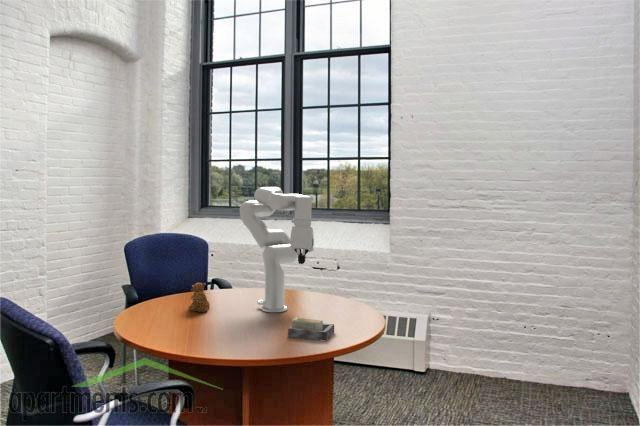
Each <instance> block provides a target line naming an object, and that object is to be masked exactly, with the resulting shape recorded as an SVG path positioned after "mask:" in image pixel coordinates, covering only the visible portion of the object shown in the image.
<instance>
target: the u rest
mask: <svg viewBox="0 0 640 426" xmlns="http://www.w3.org/2000/svg"><path fill="white" fill-rule="evenodd" d="M334 334H335V324H332V323H326V322H323V331H319V330H309V329H299V328H292V327H291V326H290V327H288V328H287V337H288V338H293V337H295V338H294V339H302V338H305V339H304V340H311V339H315V340H314V341H321V340H323V341H322V342H327V341H328V340H329V338H331V336H332V335H334Z"/></svg>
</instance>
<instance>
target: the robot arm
mask: <svg viewBox="0 0 640 426" xmlns="http://www.w3.org/2000/svg"><path fill="white" fill-rule="evenodd" d="M253 196H254V199H255V200H247V201H244V202H243V203H241V205H240V206H239V216H240V220H241V222H242V223H243V225H244V226H245V227H246V228H247V229H248V230H249V232H250V234H251V235H252V237H253V238H254V240H255V242H256V244H257V246H258V247H259V248H260V249H263V251H262V258H263V266H264V299H263V300H262V299H258V300H257V305H260V306H261V305H262V306H261V310H262V311H263V312H265V313H283V312H286V311H288V306H287V305H285V271H284V269H283V268H282V266H281V265H284V264H285V265H286V264H293V263H295V262H296V261H297V262H298V264H299V265H300V264H301V265H303V264H305V262H306V256H307V254H308V253H310V252H314V245H315V240H314V239H315V238H314V237H315V236H314V229H313V226H312V211H313V210H312V206H313V205H312V204H313V203H312V202H313V201H312V200H313V199H312V197H311V196H310V195H303V194H301V193H300V194H299V193H283V190H282V189H281V188H280V187H278V186H263V187H259V188H257V189H255V192H254V195H253ZM276 211H280V212H281V211H282V212H286V211H289V212H290V211H294V218H293V219H291V223H293V225H292V227H291V230H290V231H291V232H290V235H288V233H287V232H286V231H284V230H283V229H277V228H276V229H270V228H269V227H268V225H267V224H266V223H265V222H264V220H262V219H260V218H265V217H270V216H273V214H274V213H275V212H276ZM259 217H260V218H259Z"/></svg>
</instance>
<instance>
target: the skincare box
mask: <svg viewBox="0 0 640 426" xmlns="http://www.w3.org/2000/svg"><path fill="white" fill-rule="evenodd" d="M323 323H324V320H323V319H322V320H321V319H314V318H313V319H311V318H306V317H305V318H304V317H293V318H292V320H291V328H299V329H309V330H319V331H323Z"/></svg>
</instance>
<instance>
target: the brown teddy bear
mask: <svg viewBox="0 0 640 426" xmlns="http://www.w3.org/2000/svg"><path fill="white" fill-rule="evenodd" d="M205 286H206V283H205V282H203V283H202V282H196V283H194V284H192V285H191V287H192V288H191V289H190V291H192V292H193V295H191V296H190V299H191V301H192V303H191V304H190V305H189V306H188V310H189V311H193V312H198V313H207V312H208V310H209V309H210V308H211V307H210V306H211V305H210V304H211V303H210V302H209V300H208V298H207V295H206V294H205Z"/></svg>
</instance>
